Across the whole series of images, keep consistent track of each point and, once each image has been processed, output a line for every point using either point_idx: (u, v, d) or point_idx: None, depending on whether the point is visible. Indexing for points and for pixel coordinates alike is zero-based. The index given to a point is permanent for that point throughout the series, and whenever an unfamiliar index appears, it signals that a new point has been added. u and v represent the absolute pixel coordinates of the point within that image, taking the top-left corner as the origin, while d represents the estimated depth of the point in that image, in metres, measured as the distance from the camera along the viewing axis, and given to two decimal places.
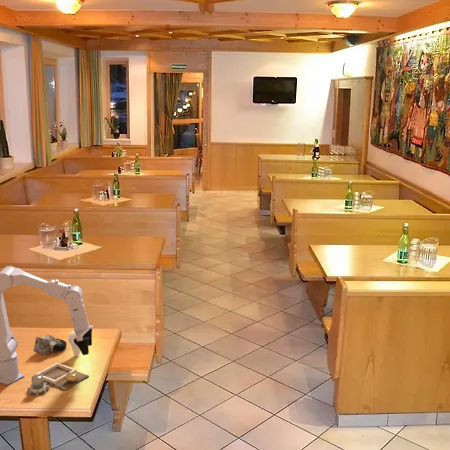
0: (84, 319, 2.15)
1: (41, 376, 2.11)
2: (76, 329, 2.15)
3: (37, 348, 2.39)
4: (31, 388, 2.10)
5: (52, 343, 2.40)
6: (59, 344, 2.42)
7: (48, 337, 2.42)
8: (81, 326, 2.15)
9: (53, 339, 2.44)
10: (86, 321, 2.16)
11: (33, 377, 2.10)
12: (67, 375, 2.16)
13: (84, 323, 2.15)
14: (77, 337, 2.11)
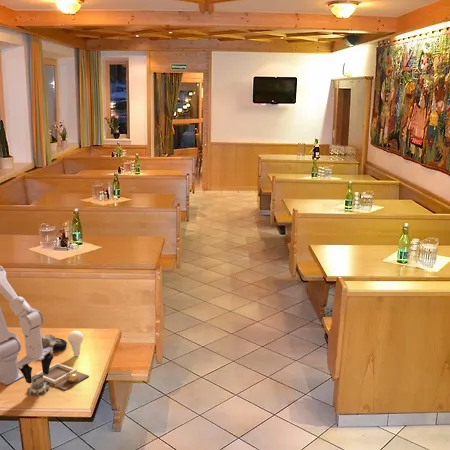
0: (33, 348, 2.05)
1: (41, 376, 2.11)
2: None
3: None
4: (31, 388, 2.10)
5: (52, 343, 2.41)
6: (59, 344, 2.42)
7: (48, 336, 2.42)
8: (29, 354, 2.05)
9: (53, 339, 2.44)
10: (36, 351, 2.05)
11: (33, 377, 2.10)
12: (67, 375, 2.16)
13: (32, 352, 2.05)
14: (17, 363, 2.03)
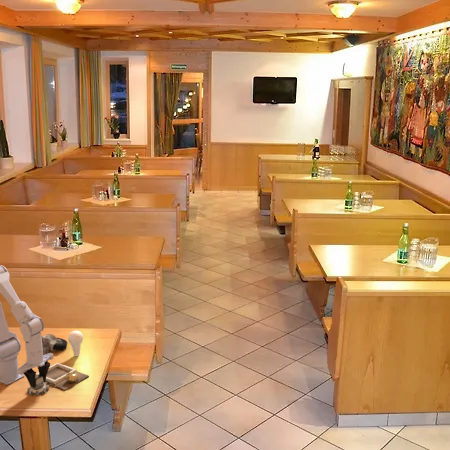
0: (34, 354, 2.05)
1: (41, 376, 2.11)
2: (27, 360, 2.07)
3: None
4: (31, 388, 2.10)
5: (52, 342, 2.41)
6: (59, 343, 2.42)
7: (49, 336, 2.43)
8: (29, 360, 2.06)
9: (54, 338, 2.45)
10: (36, 357, 2.06)
11: None
12: (67, 375, 2.16)
13: (33, 358, 2.05)
14: (18, 370, 2.03)
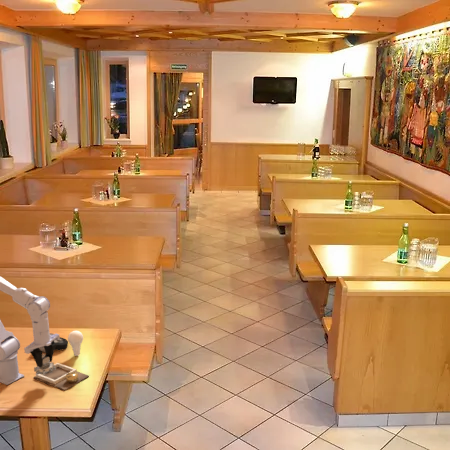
0: (41, 334, 2.08)
1: (48, 356, 2.14)
2: (34, 340, 2.11)
3: None
4: (38, 367, 2.13)
5: None
6: (60, 343, 2.43)
7: None
8: (36, 339, 2.09)
9: None
10: (43, 336, 2.09)
11: None
12: (67, 375, 2.16)
13: (40, 338, 2.08)
14: (25, 349, 2.06)
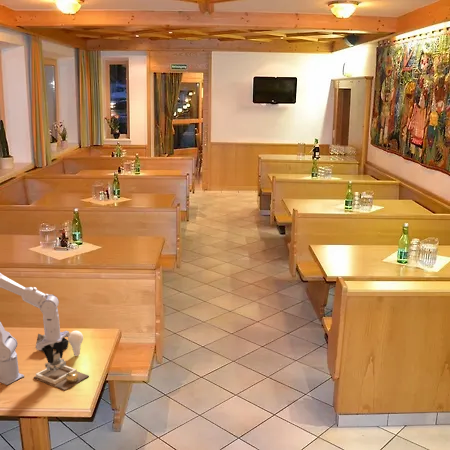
0: (52, 331, 2.15)
1: (58, 352, 2.20)
2: (45, 337, 2.17)
3: None
4: (49, 364, 2.20)
5: None
6: None
7: None
8: (47, 336, 2.15)
9: None
10: (54, 333, 2.15)
11: None
12: (67, 375, 2.16)
13: (51, 335, 2.15)
14: (36, 345, 2.13)
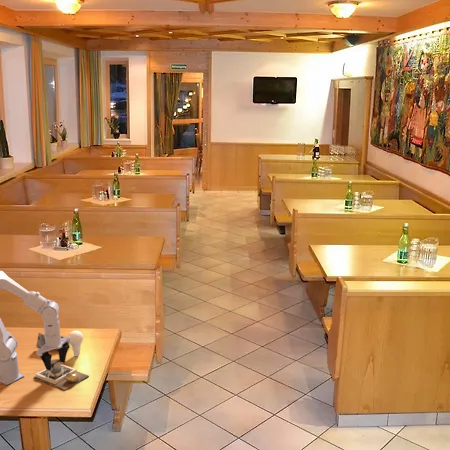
0: (52, 337, 2.15)
1: (59, 361, 2.21)
2: None
3: (39, 344, 2.43)
4: (49, 372, 2.20)
5: None
6: None
7: None
8: (48, 342, 2.16)
9: None
10: (54, 339, 2.16)
11: (51, 362, 2.20)
12: (67, 375, 2.16)
13: (51, 341, 2.15)
14: (37, 351, 2.13)
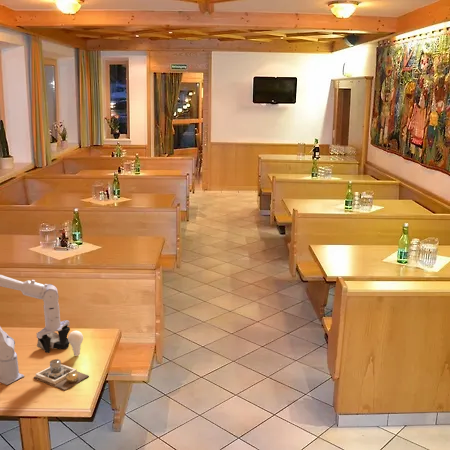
0: (52, 320, 2.18)
1: (59, 361, 2.21)
2: (45, 326, 2.20)
3: (40, 343, 2.44)
4: (49, 372, 2.20)
5: (54, 340, 2.43)
6: None
7: (52, 334, 2.45)
8: (48, 325, 2.19)
9: (57, 336, 2.46)
10: (54, 322, 2.19)
11: (51, 362, 2.20)
12: (67, 375, 2.16)
13: (51, 323, 2.18)
14: (37, 334, 2.16)
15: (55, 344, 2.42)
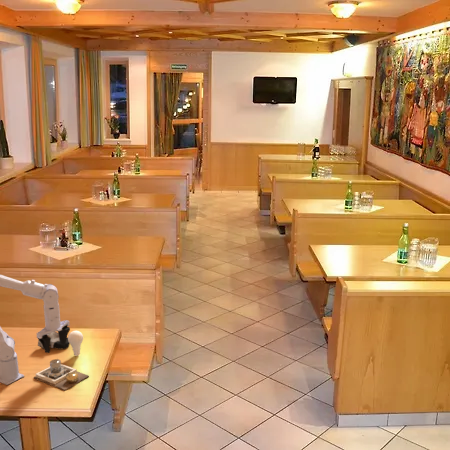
0: (52, 320, 2.18)
1: (59, 361, 2.21)
2: (45, 326, 2.20)
3: (40, 343, 2.44)
4: (49, 372, 2.20)
5: (54, 340, 2.44)
6: None
7: (52, 333, 2.46)
8: (48, 325, 2.19)
9: (58, 336, 2.47)
10: (54, 322, 2.19)
11: (51, 362, 2.20)
12: (67, 375, 2.16)
13: (51, 323, 2.18)
14: (37, 334, 2.16)
15: (55, 344, 2.42)
